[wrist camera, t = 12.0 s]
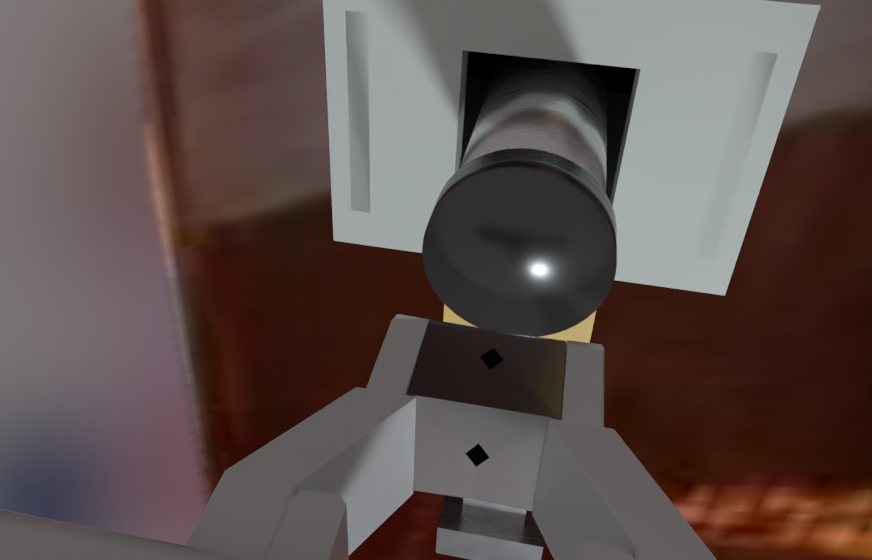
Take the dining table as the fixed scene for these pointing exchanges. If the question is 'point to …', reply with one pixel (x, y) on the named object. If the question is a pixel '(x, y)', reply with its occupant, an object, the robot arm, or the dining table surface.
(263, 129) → the dining table surface
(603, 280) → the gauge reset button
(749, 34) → the cabinet
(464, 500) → the slide rail
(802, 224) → the dining table surface
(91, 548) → the robot arm
